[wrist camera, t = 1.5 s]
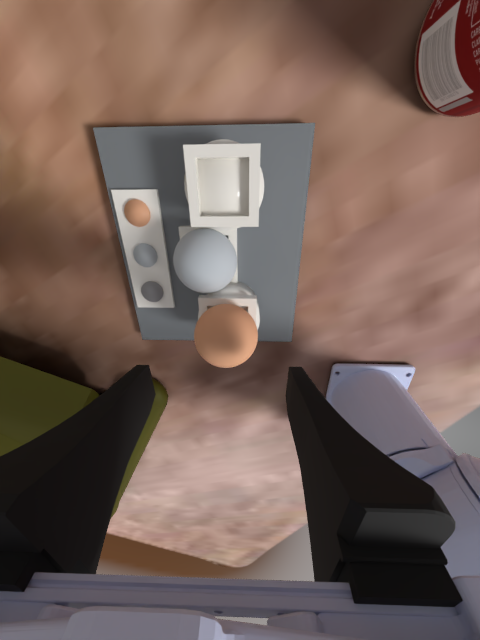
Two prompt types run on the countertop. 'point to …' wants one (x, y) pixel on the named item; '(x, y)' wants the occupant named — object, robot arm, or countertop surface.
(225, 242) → the grey ball
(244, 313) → the terracotta ball
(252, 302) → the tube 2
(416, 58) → the soda can
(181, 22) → the countertop surface
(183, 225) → the slate board
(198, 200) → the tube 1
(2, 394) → the spaceship
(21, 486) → the robot arm
